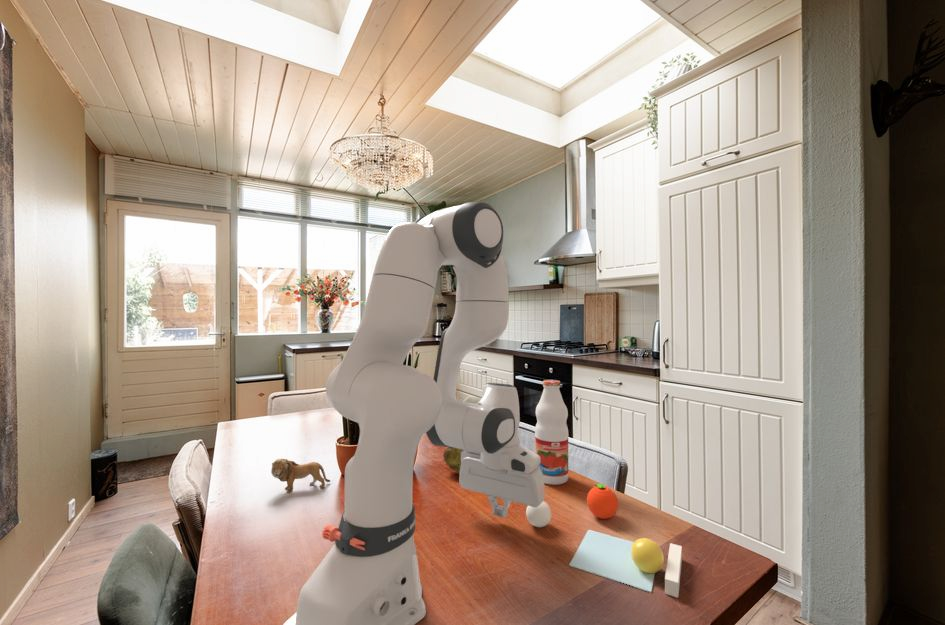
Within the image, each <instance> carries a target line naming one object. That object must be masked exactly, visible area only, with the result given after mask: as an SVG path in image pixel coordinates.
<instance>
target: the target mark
mask: <svg viewBox="0 0 945 625" xmlns="http://www.w3.org/2000/svg"><path fill="white" fill-rule="evenodd" d="M634 542H635V541H631V540H627V539H625V538H621V537H616V536H613V535H611V534H610V535H609V534H606V533H603V532H599V531H595V530H592V529H588V530H587V531H586V533H585V535H584V536H583V539H582V540H581V542H580V544H579V546H578V548H577V549H576V551H575V553H574V555H573V557H572V558H571V561H570V563H569V565H568V566H569V567H572V568H575V569H578V570H581V571H583V572H588V573H590V574H593V575H596V576H599V577H602V578H605V579H607V580H611V581H614V582H616V583H620V582H621V583H620V584H623V583H624V584H623V585H626V584H627V585H626V586H629V585H630V586H629V587H632V586H633V587H632V588H635V589H638V590H641V591H643V592H647V593H652V592H653V586H654V580H655V575H656V572H655V573H646V572H643V571H642V570H640V569H639V568H638V567H637V566H636V565H635V563H634V562H633V559H632V556H631V548H632V545H633V543H634Z"/></svg>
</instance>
